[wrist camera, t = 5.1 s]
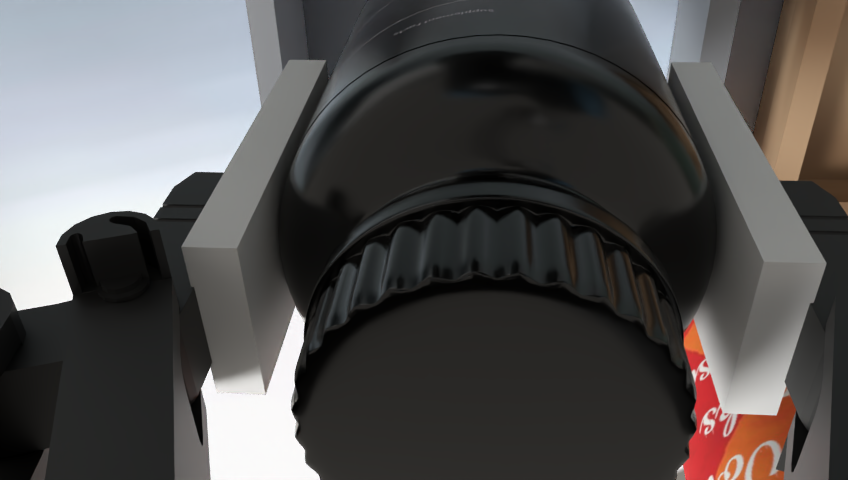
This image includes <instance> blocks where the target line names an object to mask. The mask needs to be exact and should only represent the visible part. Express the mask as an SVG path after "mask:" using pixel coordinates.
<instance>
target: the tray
mask: <svg viewBox="0 0 848 480" xmlns="http://www.w3.org/2000/svg"><path fill="white" fill-rule="evenodd" d="M753 136H754V138H755V139H756V141H757V143H758V145H759V146H760V148H761V150H762V152H763V153H764V155H765V157H766V159H767V160H768V162H769V164H770V166H771V167H772V169H773V171H774V173H775V174H776V176H777V178H778V180H782V181H812V182H814V183H815V184H817V185H818V186H820V187H821V188H823V189H824V190H825V191H827V192H828V193H830V194H831V195H833V196H834V197H835V198H836V199H837V200H838V202H839V203H840V205H841V206H842V208H843V209H844V211H845V212H846V214H847V215H848V0H784V2H783V6H782V11H781V15H780V19H779V24H778V28H777V32H776V37H775V41H774V45H773V50H772V54H771V59H770V63H769V67H768V72H767V76H766V80H765V85H764V89H763V93H762V98H761V102H760V106H759V111H758V115H757V120H756V124H755V128H754V133H753Z"/></svg>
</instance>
